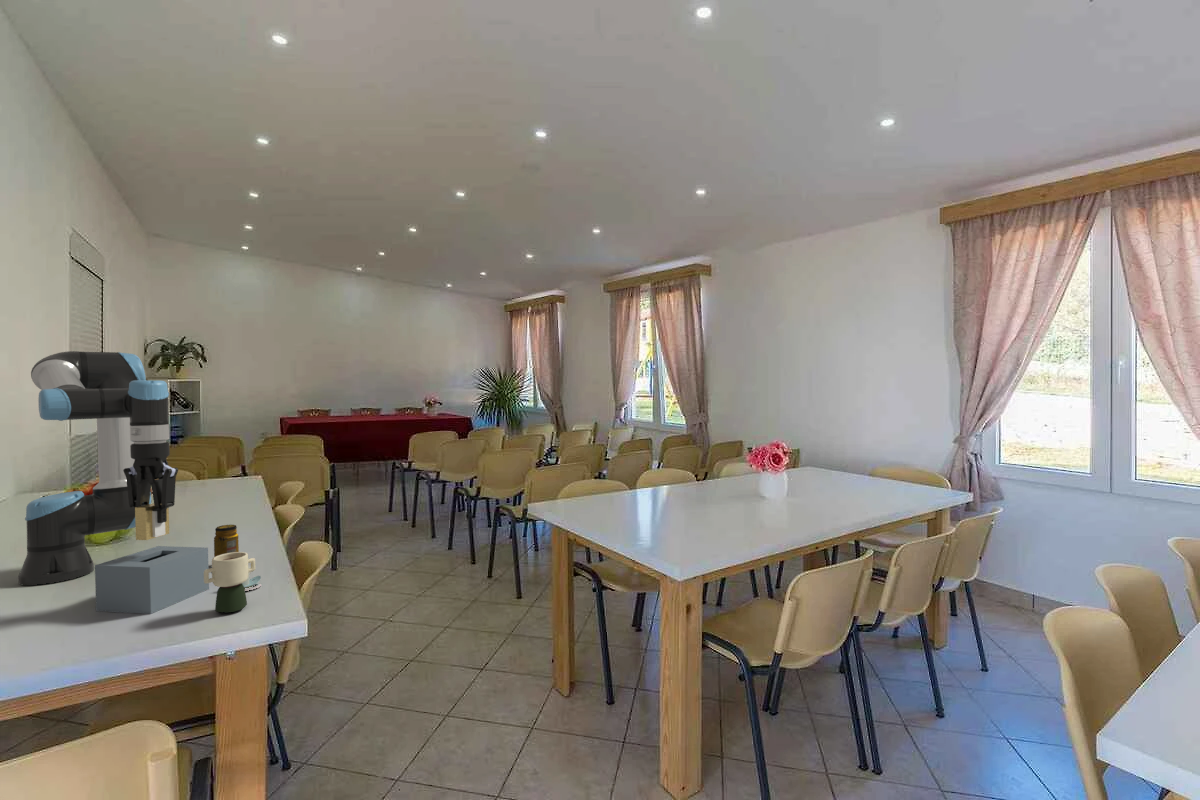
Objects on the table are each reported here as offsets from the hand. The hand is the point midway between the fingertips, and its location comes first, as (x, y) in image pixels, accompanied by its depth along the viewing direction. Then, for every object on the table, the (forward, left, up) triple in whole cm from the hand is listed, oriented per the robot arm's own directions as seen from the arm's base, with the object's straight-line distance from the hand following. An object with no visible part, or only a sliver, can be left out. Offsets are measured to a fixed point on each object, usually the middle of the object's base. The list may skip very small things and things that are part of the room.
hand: (152, 535), depth 136 cm
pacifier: (+18, +9, -17) cm, 26 cm away
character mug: (+25, -4, -17) cm, 30 cm away
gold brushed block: (0, 0, 0) cm, 0 cm away
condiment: (-3, +25, -17) cm, 30 cm away
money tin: (0, 0, -16) cm, 16 cm away
